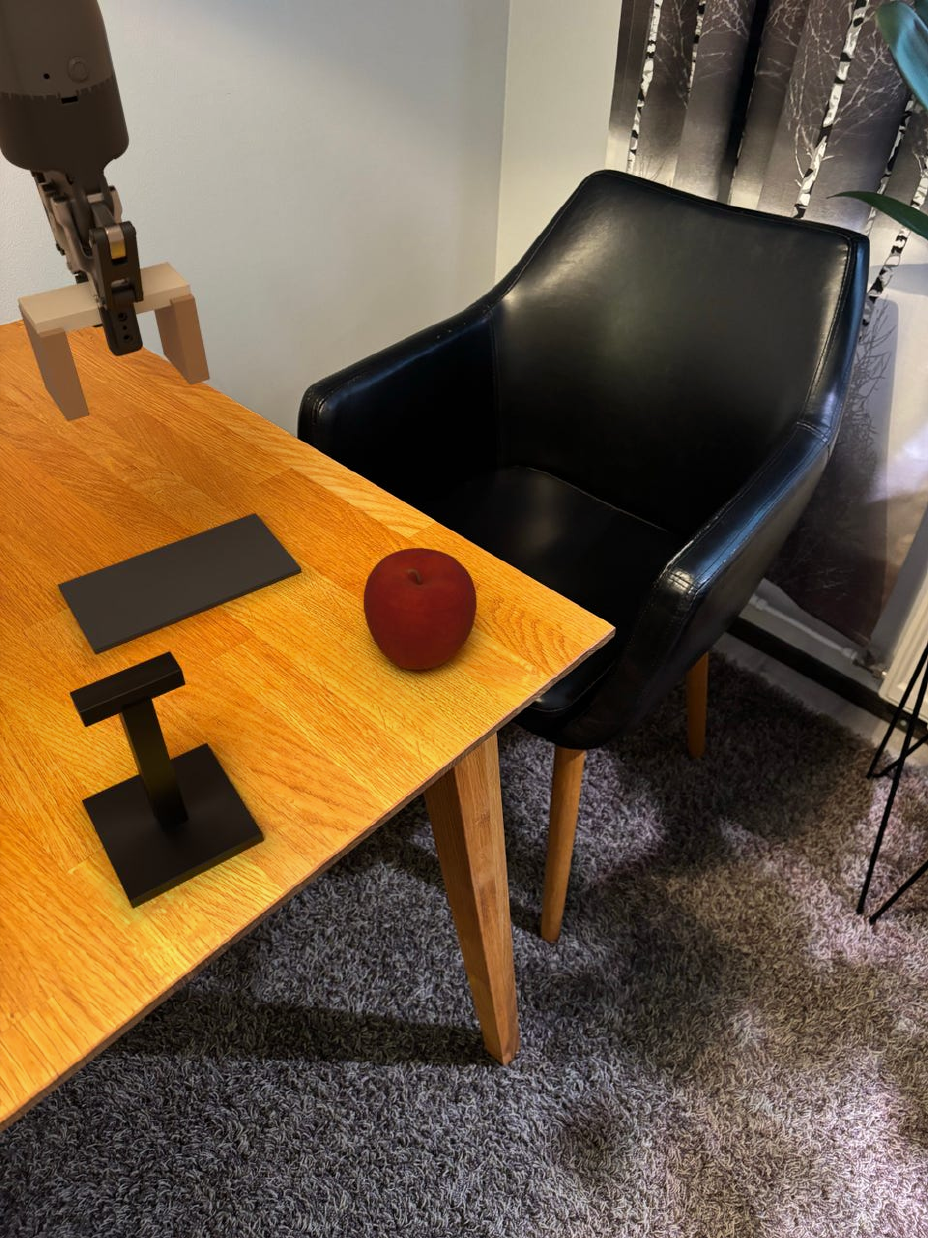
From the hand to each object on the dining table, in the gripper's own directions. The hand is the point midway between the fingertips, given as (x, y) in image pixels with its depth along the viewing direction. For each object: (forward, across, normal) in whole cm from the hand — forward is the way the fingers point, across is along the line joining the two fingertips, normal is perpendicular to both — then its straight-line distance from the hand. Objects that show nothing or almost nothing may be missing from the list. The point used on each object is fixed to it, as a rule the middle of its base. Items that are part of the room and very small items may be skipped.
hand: (115, 335), depth 68 cm
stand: (+28, +20, -9) cm, 36 cm away
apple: (+28, +15, +16) cm, 35 cm away
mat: (+28, -5, +1) cm, 28 cm away
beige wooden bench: (+4, 0, 0) cm, 4 cm away
